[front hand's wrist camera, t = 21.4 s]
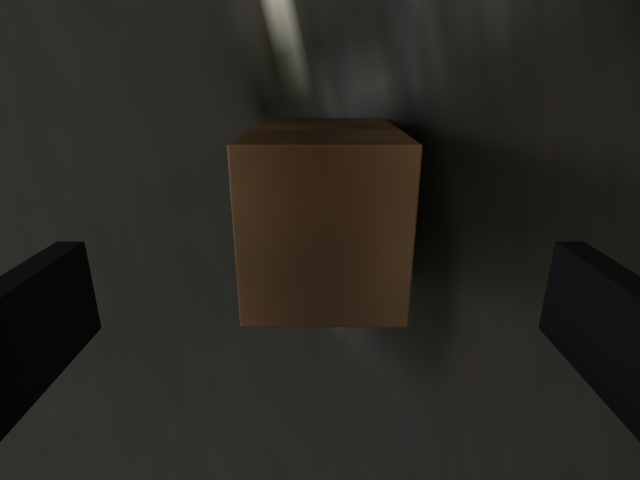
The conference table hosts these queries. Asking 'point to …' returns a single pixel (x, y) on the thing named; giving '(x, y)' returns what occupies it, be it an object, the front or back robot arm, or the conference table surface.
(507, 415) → the conference table surface
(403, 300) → the brick
